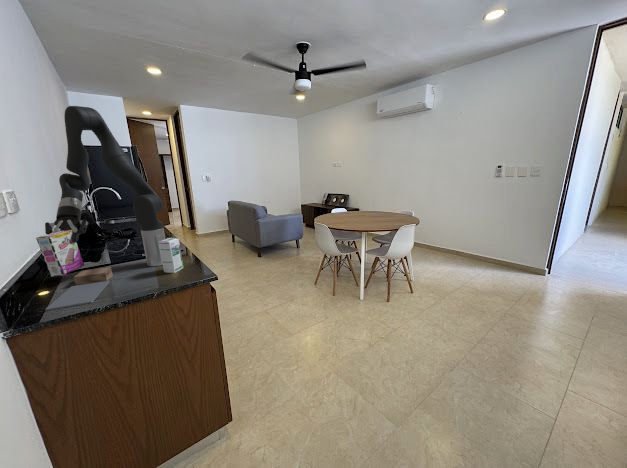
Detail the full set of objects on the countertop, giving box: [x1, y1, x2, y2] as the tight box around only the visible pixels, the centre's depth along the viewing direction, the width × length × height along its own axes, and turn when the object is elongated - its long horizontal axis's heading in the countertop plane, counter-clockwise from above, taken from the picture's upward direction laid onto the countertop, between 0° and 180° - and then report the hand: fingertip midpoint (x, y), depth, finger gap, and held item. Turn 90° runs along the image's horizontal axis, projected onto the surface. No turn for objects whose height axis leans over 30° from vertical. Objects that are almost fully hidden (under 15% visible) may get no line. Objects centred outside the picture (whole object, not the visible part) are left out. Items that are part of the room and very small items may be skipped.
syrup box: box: [158, 237, 185, 274], centre depth 112 cm, size 6×6×14 cm
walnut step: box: [73, 266, 114, 286], centre depth 104 cm, size 10×7×4 cm
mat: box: [45, 280, 110, 312], centre depth 92 cm, size 12×18×1 cm, turn 23°
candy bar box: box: [35, 230, 85, 278], centre depth 102 cm, size 11×5×16 cm, turn 6°
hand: (64, 242), depth 104 cm, fingers closed on candy bar box, 5 cm apart
